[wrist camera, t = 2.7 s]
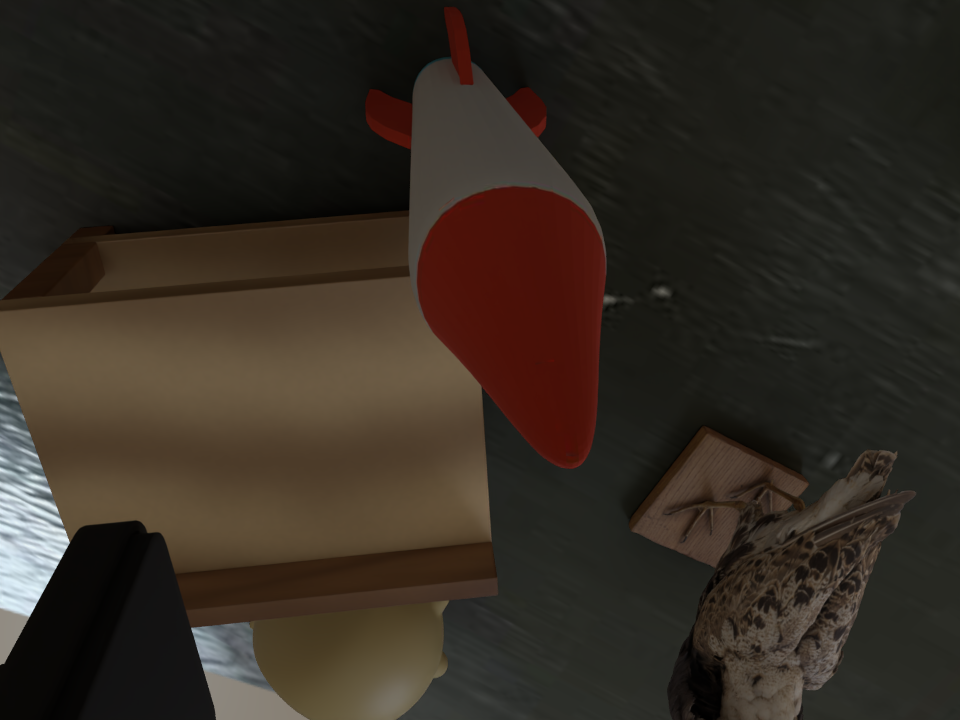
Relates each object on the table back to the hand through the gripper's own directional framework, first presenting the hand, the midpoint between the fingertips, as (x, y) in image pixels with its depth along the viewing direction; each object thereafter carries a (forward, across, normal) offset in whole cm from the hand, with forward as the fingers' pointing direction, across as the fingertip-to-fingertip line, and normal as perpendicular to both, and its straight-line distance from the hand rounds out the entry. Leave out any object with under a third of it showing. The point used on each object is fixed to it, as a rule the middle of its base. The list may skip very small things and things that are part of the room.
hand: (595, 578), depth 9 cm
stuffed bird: (+32, -14, +25) cm, 43 cm away
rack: (+32, +9, +12) cm, 35 cm away
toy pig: (+33, +8, +27) cm, 43 cm away
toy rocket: (+32, 0, 0) cm, 32 cm away
